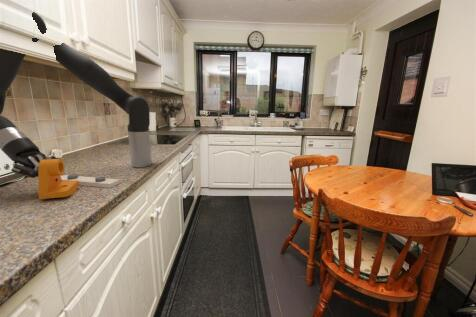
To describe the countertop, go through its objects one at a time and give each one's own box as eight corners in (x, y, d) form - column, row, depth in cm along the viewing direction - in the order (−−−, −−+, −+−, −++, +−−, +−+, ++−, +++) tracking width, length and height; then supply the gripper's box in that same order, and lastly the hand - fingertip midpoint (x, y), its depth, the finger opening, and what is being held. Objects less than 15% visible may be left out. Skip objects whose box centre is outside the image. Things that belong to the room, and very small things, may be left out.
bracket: (68, 199, 68) (61, 162, 65) (40, 201, 65) (32, 164, 62) (80, 187, 77) (75, 155, 75) (56, 189, 75) (49, 156, 72)
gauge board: (66, 178, 86) (65, 172, 85) (119, 183, 82) (119, 177, 82) (53, 182, 81) (52, 176, 80) (110, 187, 77) (109, 181, 77)
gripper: (-5, 139, 62) (38, 182, 63) (42, 134, 75) (77, 170, 76) (-15, 156, 64) (27, 197, 66) (32, 148, 77) (67, 182, 78)
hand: (54, 182), depth 71 cm, fingers closed
